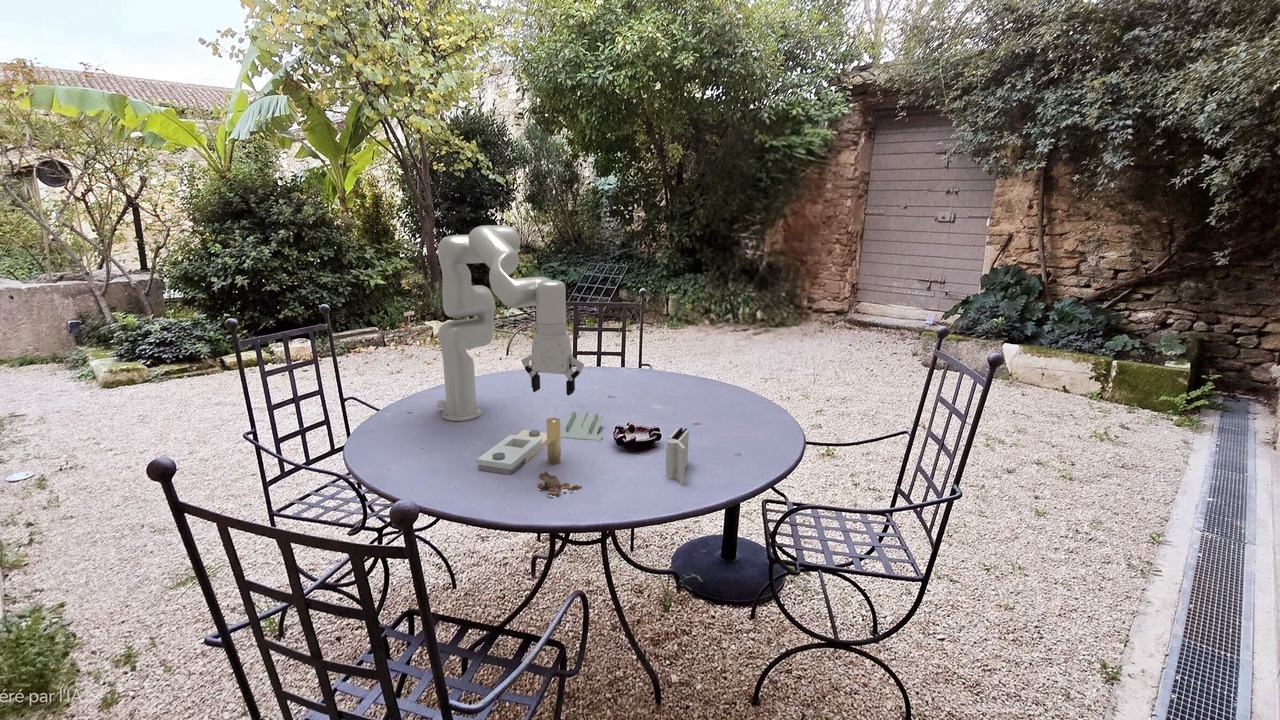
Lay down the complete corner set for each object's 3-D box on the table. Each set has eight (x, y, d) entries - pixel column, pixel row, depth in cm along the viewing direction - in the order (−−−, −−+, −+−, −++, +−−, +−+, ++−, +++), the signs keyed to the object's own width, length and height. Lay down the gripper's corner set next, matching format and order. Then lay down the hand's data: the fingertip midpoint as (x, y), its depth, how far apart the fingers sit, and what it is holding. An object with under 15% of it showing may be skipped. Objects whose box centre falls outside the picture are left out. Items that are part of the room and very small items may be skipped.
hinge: (684, 485, 148) (685, 448, 146) (663, 483, 149) (664, 446, 146) (688, 462, 162) (689, 428, 159) (668, 460, 162) (669, 426, 160)
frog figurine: (521, 494, 143) (520, 479, 142) (554, 476, 153) (554, 462, 152) (557, 507, 137) (556, 492, 136) (588, 488, 147) (588, 474, 146)
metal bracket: (564, 406, 188) (610, 410, 185) (566, 421, 191) (611, 425, 188) (550, 434, 176) (598, 438, 173) (552, 449, 179) (600, 453, 176)
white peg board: (511, 474, 152) (511, 461, 151) (477, 469, 155) (476, 456, 154) (553, 438, 176) (553, 426, 175) (523, 434, 179) (522, 422, 178)
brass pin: (545, 463, 159) (544, 421, 156) (550, 458, 162) (550, 417, 159) (557, 465, 158) (556, 423, 155) (562, 459, 161) (562, 418, 158)
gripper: (514, 329, 150) (516, 393, 154) (577, 333, 145) (578, 399, 149) (527, 324, 157) (529, 385, 161) (588, 328, 152) (588, 391, 156)
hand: (553, 392), depth 155 cm, fingers open, 9 cm apart
